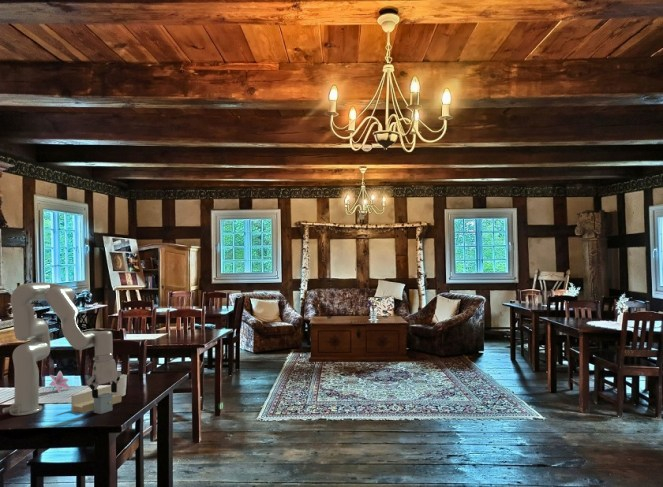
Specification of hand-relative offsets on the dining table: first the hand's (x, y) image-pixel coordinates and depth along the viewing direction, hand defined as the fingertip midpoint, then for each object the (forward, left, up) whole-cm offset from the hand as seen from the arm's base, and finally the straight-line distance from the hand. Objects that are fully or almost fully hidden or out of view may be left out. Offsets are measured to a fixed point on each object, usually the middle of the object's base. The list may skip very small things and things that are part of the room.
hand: (104, 395), depth 217 cm
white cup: (+21, +18, -8) cm, 28 cm away
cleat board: (+4, +11, -7) cm, 14 cm away
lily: (+13, +56, -8) cm, 58 cm away
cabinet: (0, +1, -8) cm, 8 cm away
